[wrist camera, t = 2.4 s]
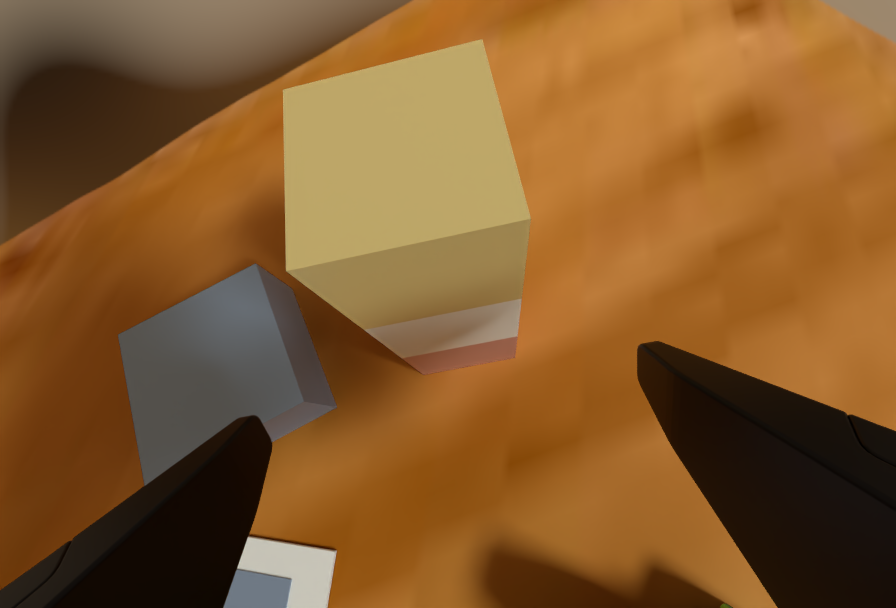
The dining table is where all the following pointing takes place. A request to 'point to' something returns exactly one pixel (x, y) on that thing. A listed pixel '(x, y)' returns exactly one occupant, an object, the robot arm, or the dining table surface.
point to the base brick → (221, 368)
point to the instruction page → (281, 576)
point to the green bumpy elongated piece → (725, 606)
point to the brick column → (410, 206)
